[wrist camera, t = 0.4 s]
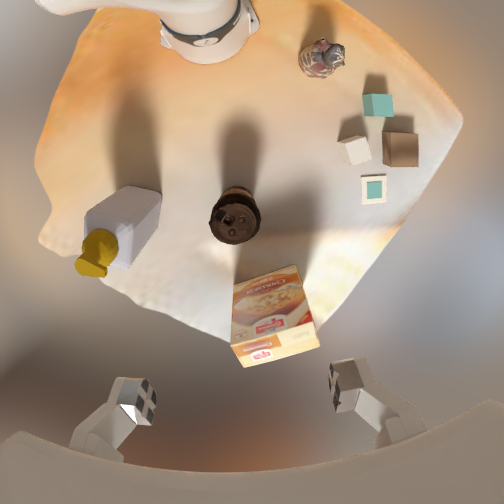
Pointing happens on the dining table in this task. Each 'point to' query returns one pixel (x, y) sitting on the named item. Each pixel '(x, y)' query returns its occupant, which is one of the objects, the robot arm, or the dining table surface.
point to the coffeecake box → (271, 318)
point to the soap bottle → (118, 230)
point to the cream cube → (354, 150)
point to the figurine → (321, 58)
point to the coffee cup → (235, 216)
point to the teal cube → (378, 105)
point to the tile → (373, 189)
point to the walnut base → (400, 149)
